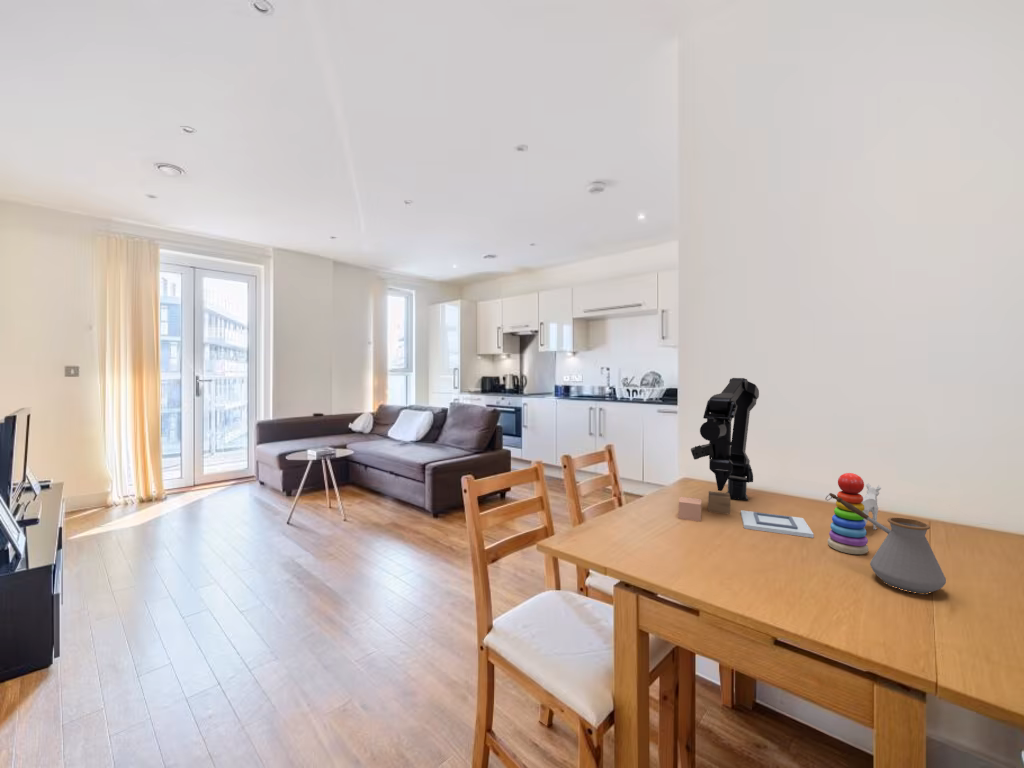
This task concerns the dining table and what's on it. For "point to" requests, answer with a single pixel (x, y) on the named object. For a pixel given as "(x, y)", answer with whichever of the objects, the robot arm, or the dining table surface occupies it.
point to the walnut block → (719, 502)
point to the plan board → (776, 523)
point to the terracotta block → (690, 508)
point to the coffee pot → (904, 554)
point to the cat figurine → (871, 502)
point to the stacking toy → (849, 518)
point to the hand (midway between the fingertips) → (719, 487)
